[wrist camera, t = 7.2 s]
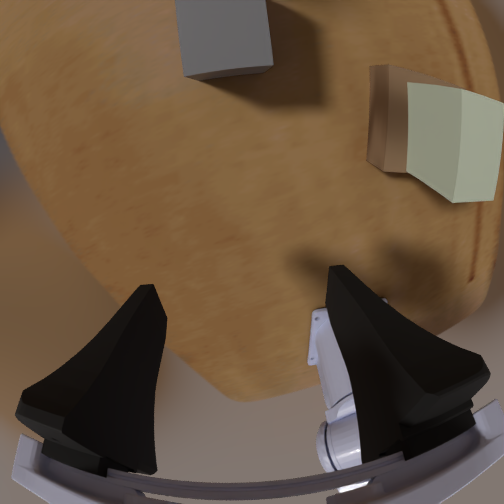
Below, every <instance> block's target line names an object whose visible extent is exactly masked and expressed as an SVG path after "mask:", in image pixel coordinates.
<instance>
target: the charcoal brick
mask: <svg viewBox="0 0 504 504" xmlns="http://www.w3.org/2000/svg"><path fill="white" fill-rule="evenodd" d="M175 5H176V15H177V24H178V33H179V42H180V50H181V58H182V65H183V73H184V77H187V78H191V79H194V80H198V81H201V80H207V79H213V78H220V77H227V76H235V75H244V74H255V73H264V72H265V71H267V70H268V69H269V68H271V67H272V66H273V56H272V47H271V39H270V31H269V23H268V16H267V9H266V2H265V0H175Z"/></svg>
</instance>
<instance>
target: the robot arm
mask: <svg viewBox="0 0 504 504" xmlns="http://www.w3.org/2000/svg"><path fill="white" fill-rule="evenodd" d="M325 304H326V308H322V309H316V310H314V311H313V312H312V320H311V332H310V342H309V352H308V361H307V362H308V365H316V364H317V368H318V373H319V377H320V381H321V386H322V390H323V394H324V399H325V403H326V405H327V407H328V409H329V410H327V411H325V414H326V419H327V421H324V422H323V423H322V424H321V425H320V427H319V431H318V433H317V437H316V447H317V453H318V456H319V460H320V462H321V465H322V467H323V468H324V470H325V471H326V472H327V473H323V474H318V475H313V476H307V477H301V478H293V479H286V480H276V481H265V482H249V483H205V482H189V481H178V480H169V479H161V478H155V477H147V476H142V475H137V474H131V473H128V472H132V473H142V474H148V475H152V474H154V473H155V472H156V471H157V464H156V455H155V441H154V404H155V390H156V383H157V377H158V372H159V368H160V362H161V358H162V353H163V349H164V344H165V339H166V329H167V316H166V314H165V311H164V309H163V306H162V304H161V302H160V299H159V297H158V294H157V292H156V289H155V287H154V284H146V285H140V286H139V287H138V288H137V289H136V290H135V291H134V293H133V294H132V295H131V296H130V297H129V298H128V300H127V301H126V302H125V303H124V304H123V306H122V307H121V308H120V309H119V310H118V311H117V313H116V314H115V315H114V316H113V317H112V318H111V320H110V321H109V322H108V323H107V324H106V325H105V326H104V327H103V328H102V330H101V331H100V332H99V333H98V334H97V335H96V336H95V337H94V338H93V339H92V340H91V341H90V342H89V343H88V344H87V345H86V346H85V347H84V348H83V349H82V350H81V351H79V352H78V353H77V354H76V355H75V356H74V357H72V358H71V359H70V360H69V361H67V362H66V363H65V364H64V365H63V366H61V367H60V368H59V369H57V370H56V371H54V372H53V373H51V374H50V375H49V376H47V377H46V378H44V379H42V380H41V381H39V382H37V383H36V384H34V385H32V386H30V387H28V388H27V389H25V390H23V392H22V395H21V398H20V401H19V404H18V407H17V410H16V413H15V416H16V418H17V419H18V420H19V421H20V422H21V423H23V424H24V425H26V426H27V427H28V428H30V429H31V430H32V431H34V432H35V433H37V434H38V435H40V436H41V437H43V438H44V443H41V442H39V441H37V440H35V439H33V438H31V437H29V436H27V435H24V434H21V436H20V440H19V443H18V447H17V452H16V456H15V461H14V466H13V471H12V479H13V480H15V481H16V482H18V483H19V484H21V485H22V486H24V487H25V488H27V489H28V490H30V491H31V492H33V493H34V494H36V495H37V496H39V497H40V498H42V499H44V500H45V501H47V502H48V503H50V504H180V503H174V502H169V501H164V500H158V499H153V498H147V497H146V496H145V494H144V493H143V492H147V493H153V494H158V495H165V496H173V497H181V498H192V499H205V500H259V499H272V498H282V497H291V496H298V495H305V494H311V493H317V492H321V491H327V490H331V489H335V488H336V489H337V490H338V491H339V493H338V494H335V495H333V496H329V497H327V498H326V501H327V504H440V503H442V502H443V501H445V500H446V499H447V498H449V497H451V496H452V495H454V494H455V493H457V492H458V491H459V490H461V489H462V488H463V487H465V486H466V485H468V484H469V483H470V482H471V481H473V480H474V479H475V478H476V477H478V476H479V475H480V474H482V473H483V472H484V471H485V470H487V469H488V468H489V467H490V466H491V465H493V464H494V463H495V462H496V461H498V459H500V458H501V457H502V456H503V455H504V414H503V411H502V409H501V407H500V404H499V402H498V400H497V399H494V400H493V401H491V402H490V403H488V404H487V405H485V406H484V407H482V408H481V409H479V410H478V411H476V412H475V413H473V414H472V412H471V410H470V409H471V408H472V407H473V402H472V400H471V398H472V397H473V396H474V395H475V394H476V393H477V392H478V391H479V390H480V389H481V388H482V387H483V386H484V385H485V384H486V383H487V381H488V380H489V378H490V371H489V369H488V367H487V365H486V364H485V362H484V360H483V358H482V357H481V355H479V354H476V353H474V352H471V351H468V350H465V349H462V348H460V347H458V346H455V345H453V344H451V343H449V342H447V341H445V340H443V339H441V338H439V337H437V336H435V335H433V334H431V333H430V332H428V331H426V330H424V329H423V328H421V327H419V326H418V325H416V324H415V323H413V322H412V321H410V320H409V319H407V318H406V317H404V316H403V315H402V314H400V313H399V312H397V311H396V310H395V309H394V308H392V307H391V306H390V305H388V304H387V300H386V298H380V297H379V296H378V295H376V294H375V293H374V292H373V291H372V290H371V289H370V288H368V287H367V286H366V285H365V284H364V283H363V282H362V281H361V280H360V279H359V278H357V277H356V276H355V275H354V274H353V273H352V272H351V271H350V270H349V269H348V268H347V267H345V266H344V265H337V266H329V274H328V284H327V293H326V301H325ZM316 317H317V318H316ZM141 491H142V492H141Z"/></svg>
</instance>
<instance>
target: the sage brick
mask: <svg viewBox="0 0 504 504" xmlns="http://www.w3.org/2000/svg"><path fill="white" fill-rule="evenodd" d="M407 88H408V151H407V168H406V171H407V172H408V173H410V174H411V175H413V176H415V177H416V178H418V179H419V180H421V181H422V182H424V183H425V184H427V185H428V186H430V187H431V188H432V189H434V190H435V191H437V192H438V193H440V194H441V195H442V196H444V197H445V198H446V199H448V200H449V201H451V202H452V203H458V202H474V201H492V200H493V199H494V194H495V189H496V184H497V178H498V172H499V166H500V158H501V149H502V139H503V122H504V103H501V102H499V101H496V100H494V99H491V98H488V97H485V96H482V95H479V94H476V93H473V92H470V91H467V90H463V89H459V88H453V87H446V86H439V85H431V84H422V83H411V82H407Z"/></svg>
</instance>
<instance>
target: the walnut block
mask: <svg viewBox="0 0 504 504" xmlns="http://www.w3.org/2000/svg"><path fill="white" fill-rule="evenodd" d="M407 82H411V83H422V84H431V85H439V86H446V87H453V88H459V89H463V90H466V89H464V88H462V87H459V86H457V85H454V84H452V83H449V82H446V81H444V80H441V79H438V78H435V77H432V76H429V75H426V74H422V73H419V72H416V71H412V70H409V69H405V68H401V67H397V66H393V65H376V66H370V108H369V131H368V147H367V159H366V160H367V161H368V162H370V163H371V164H373V165H374V166H376V167H377V168H379V169H380V170H382V171H383V172H401V173H408V172H407V171H406V168H407V151H408V88H407Z"/></svg>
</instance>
